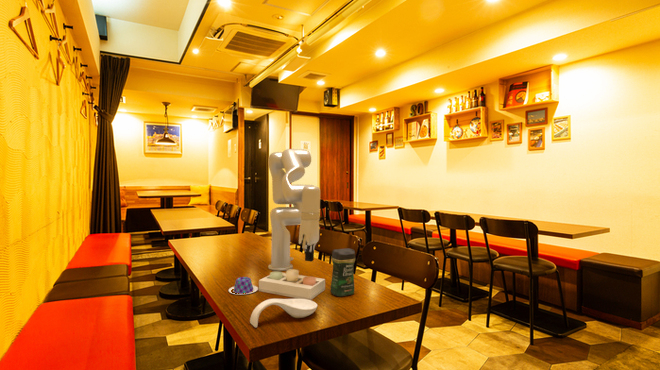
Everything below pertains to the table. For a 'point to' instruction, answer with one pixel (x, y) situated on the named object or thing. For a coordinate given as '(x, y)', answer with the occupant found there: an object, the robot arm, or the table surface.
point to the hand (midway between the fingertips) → (309, 260)
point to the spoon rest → (286, 308)
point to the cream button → (292, 275)
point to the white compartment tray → (292, 287)
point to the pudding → (243, 286)
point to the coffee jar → (343, 272)
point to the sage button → (276, 275)
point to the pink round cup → (309, 280)
